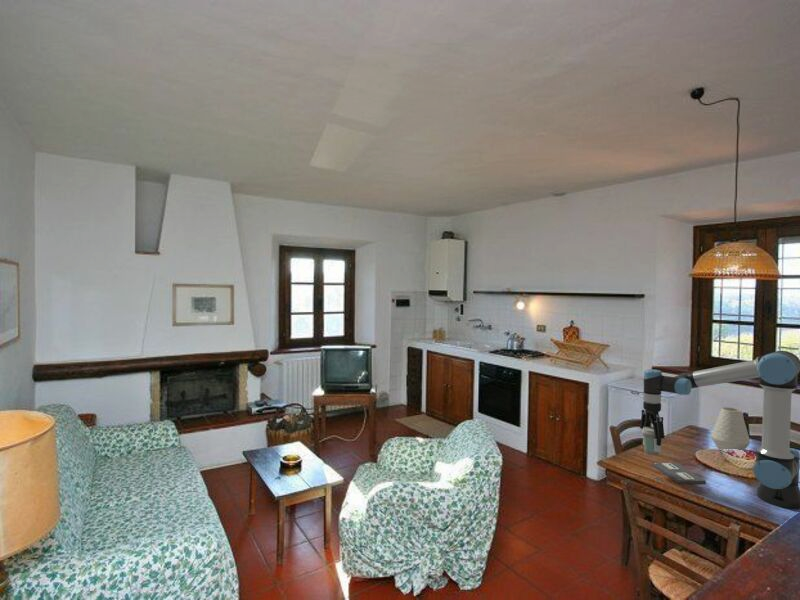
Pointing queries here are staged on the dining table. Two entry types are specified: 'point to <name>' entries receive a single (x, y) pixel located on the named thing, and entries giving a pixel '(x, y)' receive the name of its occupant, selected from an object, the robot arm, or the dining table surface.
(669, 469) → the board
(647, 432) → the coffee cup
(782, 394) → the robot arm
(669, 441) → the dining table surface
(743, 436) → the vase
